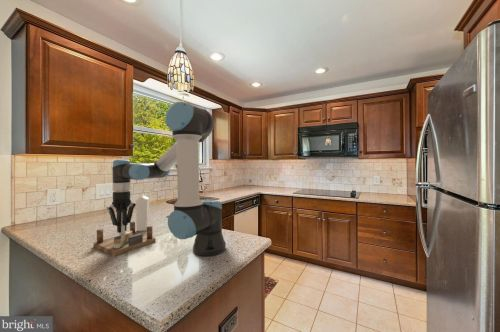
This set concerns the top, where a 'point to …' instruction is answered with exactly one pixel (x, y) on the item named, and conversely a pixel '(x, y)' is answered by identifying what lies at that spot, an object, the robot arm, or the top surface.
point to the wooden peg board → (132, 243)
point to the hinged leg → (122, 239)
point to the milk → (142, 213)
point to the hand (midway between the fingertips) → (121, 238)
